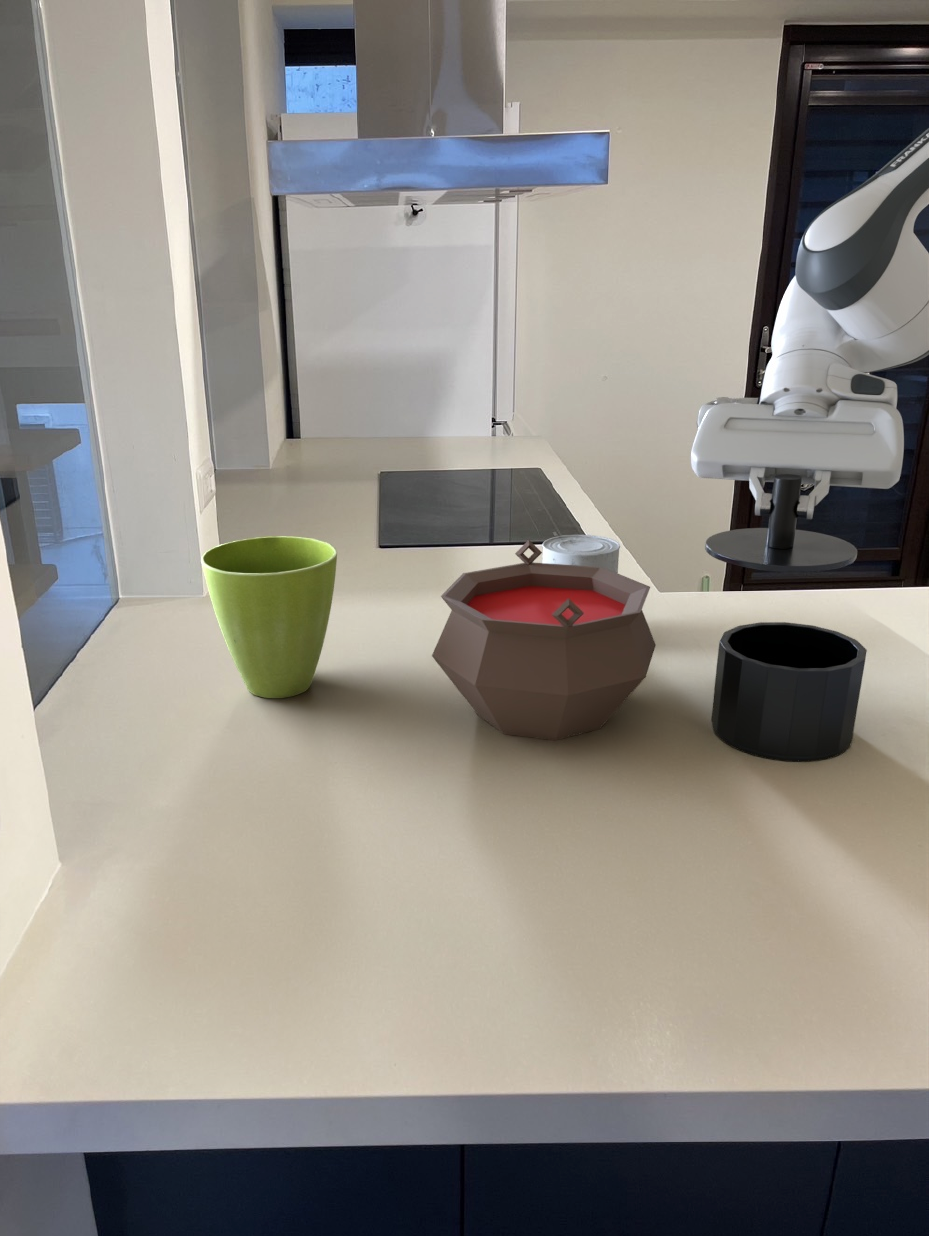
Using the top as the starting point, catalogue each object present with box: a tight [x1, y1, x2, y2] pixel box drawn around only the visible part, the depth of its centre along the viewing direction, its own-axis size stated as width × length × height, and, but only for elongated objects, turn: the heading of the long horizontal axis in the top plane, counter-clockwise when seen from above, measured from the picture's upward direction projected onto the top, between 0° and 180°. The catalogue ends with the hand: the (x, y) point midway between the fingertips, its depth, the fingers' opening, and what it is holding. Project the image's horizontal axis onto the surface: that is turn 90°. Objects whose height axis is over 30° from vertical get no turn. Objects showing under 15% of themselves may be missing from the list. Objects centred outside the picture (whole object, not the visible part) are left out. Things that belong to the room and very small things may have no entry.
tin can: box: [541, 534, 621, 574], centre depth 128 cm, size 10×10×12 cm
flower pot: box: [200, 535, 338, 699], centre depth 115 cm, size 15×15×16 cm
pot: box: [710, 621, 868, 763], centre depth 102 cm, size 14×14×10 cm
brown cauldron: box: [431, 539, 657, 741], centre depth 107 cm, size 24×24×16 cm
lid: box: [704, 474, 858, 573], centre depth 102 cm, size 15×15×8 cm
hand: (783, 514), depth 101 cm, fingers closed on lid, 2 cm apart
